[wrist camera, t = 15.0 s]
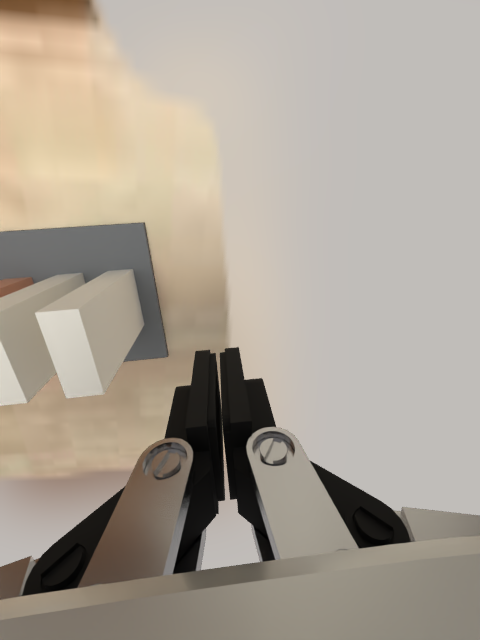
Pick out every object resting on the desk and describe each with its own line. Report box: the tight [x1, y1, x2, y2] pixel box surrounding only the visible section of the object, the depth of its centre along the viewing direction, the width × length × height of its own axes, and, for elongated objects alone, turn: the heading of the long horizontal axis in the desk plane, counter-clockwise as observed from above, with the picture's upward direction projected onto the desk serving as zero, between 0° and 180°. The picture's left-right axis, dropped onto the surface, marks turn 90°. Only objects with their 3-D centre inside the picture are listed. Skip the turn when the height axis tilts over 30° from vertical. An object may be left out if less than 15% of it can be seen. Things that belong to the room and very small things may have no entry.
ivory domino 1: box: [0, 273, 85, 406], centre depth 18 cm, size 2×5×10 cm, turn 3°
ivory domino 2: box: [35, 269, 144, 398], centre depth 18 cm, size 2×5×10 cm, turn 4°
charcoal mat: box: [0, 223, 168, 362], centre depth 23 cm, size 12×21×1 cm, turn 93°
